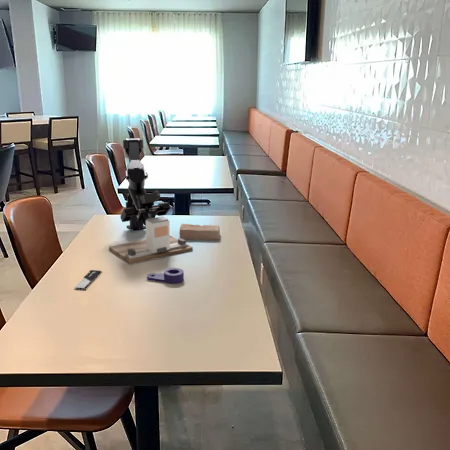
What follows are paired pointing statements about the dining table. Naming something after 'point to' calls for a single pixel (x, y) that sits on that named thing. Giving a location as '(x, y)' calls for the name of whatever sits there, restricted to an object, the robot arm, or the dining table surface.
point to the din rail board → (139, 253)
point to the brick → (199, 232)
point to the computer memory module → (88, 280)
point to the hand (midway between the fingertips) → (153, 231)
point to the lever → (168, 276)
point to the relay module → (157, 234)
